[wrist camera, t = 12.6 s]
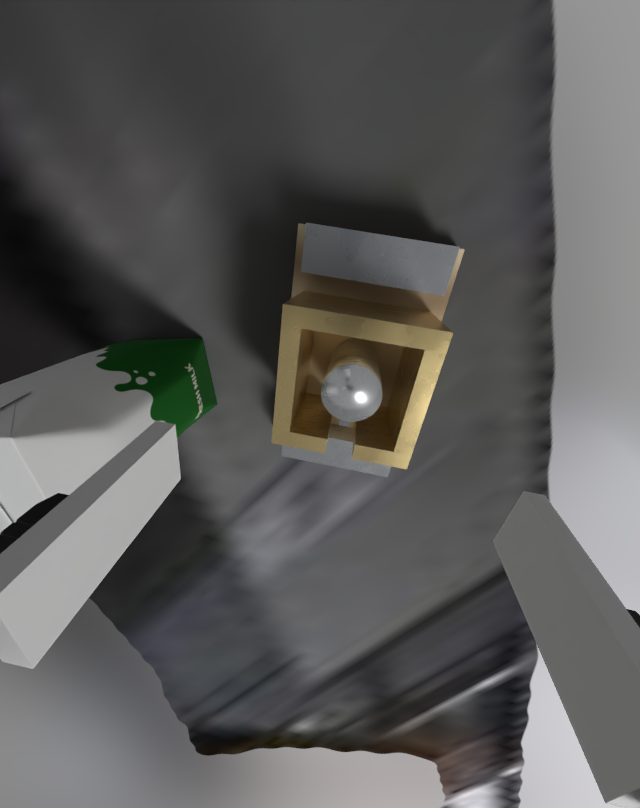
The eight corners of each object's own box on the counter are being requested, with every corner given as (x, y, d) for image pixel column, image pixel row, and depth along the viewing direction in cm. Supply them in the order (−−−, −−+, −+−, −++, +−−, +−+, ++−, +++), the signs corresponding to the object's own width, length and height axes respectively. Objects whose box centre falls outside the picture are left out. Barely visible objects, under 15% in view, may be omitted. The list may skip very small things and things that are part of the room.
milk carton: (123, 330, 30) (-238, 447, 12) (211, 327, 28) (-45, 456, 11) (150, 411, 34) (-93, 591, 16) (229, 412, 32) (61, 610, 14)
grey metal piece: (311, 225, 22) (291, 215, 16) (450, 247, 22) (484, 245, 16) (287, 441, 31) (267, 488, 25) (385, 460, 31) (391, 514, 24)
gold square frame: (303, 290, 24) (282, 303, 18) (430, 311, 24) (453, 332, 18) (291, 401, 29) (271, 443, 23) (397, 421, 28) (406, 469, 22)
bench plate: (302, 224, 24) (298, 223, 22) (459, 249, 23) (464, 249, 22) (281, 431, 32) (277, 439, 31) (394, 453, 32) (396, 462, 30)
